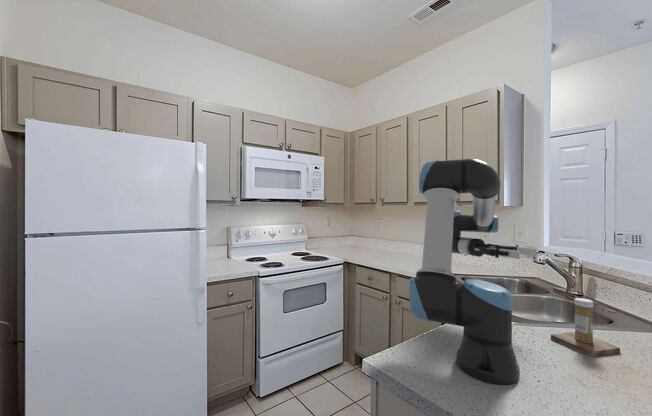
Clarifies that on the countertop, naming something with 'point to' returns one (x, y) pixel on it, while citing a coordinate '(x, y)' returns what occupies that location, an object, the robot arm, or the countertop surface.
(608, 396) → the countertop surface
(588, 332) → the sprinkles bottle
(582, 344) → the walnut board
